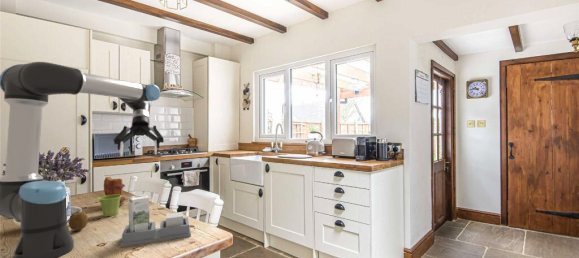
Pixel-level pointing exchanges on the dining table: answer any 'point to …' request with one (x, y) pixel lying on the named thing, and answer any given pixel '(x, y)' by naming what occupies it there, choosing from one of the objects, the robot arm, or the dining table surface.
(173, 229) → the grey box holder
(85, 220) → the fruit
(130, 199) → the syrup box
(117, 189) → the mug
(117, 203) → the plant pot
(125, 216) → the dining table surface
